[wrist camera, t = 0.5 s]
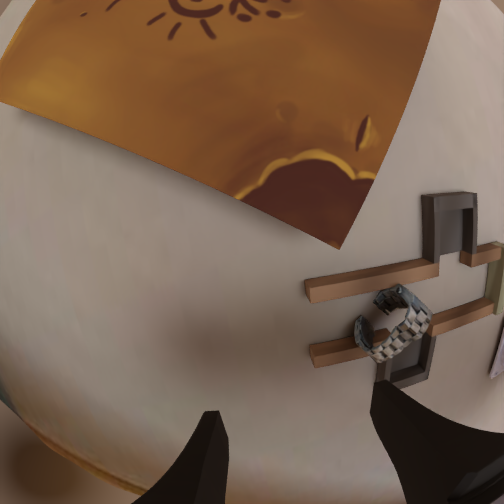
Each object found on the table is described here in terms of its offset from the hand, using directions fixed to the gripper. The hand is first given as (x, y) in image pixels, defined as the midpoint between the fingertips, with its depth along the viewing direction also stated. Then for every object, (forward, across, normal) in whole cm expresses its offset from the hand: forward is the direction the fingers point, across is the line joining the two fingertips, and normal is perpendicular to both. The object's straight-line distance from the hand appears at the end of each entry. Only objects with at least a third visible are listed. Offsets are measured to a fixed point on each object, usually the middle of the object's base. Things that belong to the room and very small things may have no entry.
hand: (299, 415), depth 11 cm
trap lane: (+8, -11, 0) cm, 14 cm away
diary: (+9, +1, -20) cm, 22 cm away
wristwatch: (+9, -7, 0) cm, 12 cm away
